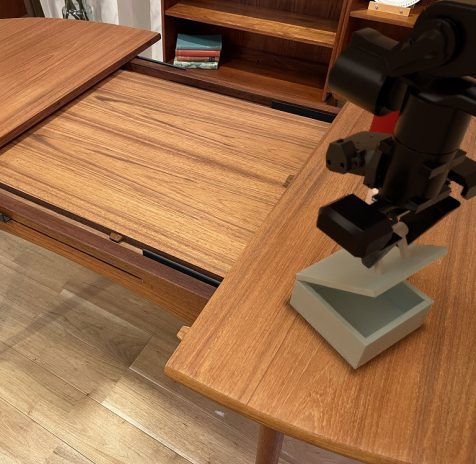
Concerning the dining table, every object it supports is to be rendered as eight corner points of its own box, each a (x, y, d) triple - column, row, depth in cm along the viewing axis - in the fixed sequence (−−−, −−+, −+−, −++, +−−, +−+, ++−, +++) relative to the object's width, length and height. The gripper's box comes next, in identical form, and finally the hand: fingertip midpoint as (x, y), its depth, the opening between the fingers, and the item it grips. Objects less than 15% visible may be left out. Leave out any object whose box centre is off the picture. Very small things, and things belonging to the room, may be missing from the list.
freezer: (420, 325, 64) (434, 301, 61) (355, 369, 60) (366, 346, 56) (352, 267, 71) (361, 243, 68) (289, 303, 67) (295, 279, 64)
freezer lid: (448, 253, 56) (439, 211, 55) (374, 297, 52) (363, 253, 51) (362, 243, 68) (353, 208, 66) (296, 279, 63) (285, 242, 62)
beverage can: (404, 139, 93) (427, 78, 85) (404, 160, 89) (428, 98, 80) (366, 133, 95) (384, 73, 86) (364, 153, 90) (383, 92, 82)
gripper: (420, 76, 55) (384, 190, 65) (288, 130, 48) (271, 246, 59) (520, 120, 48) (461, 240, 58) (381, 190, 41) (343, 310, 52)
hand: (383, 256), depth 57 cm, fingers closed on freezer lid, 5 cm apart
